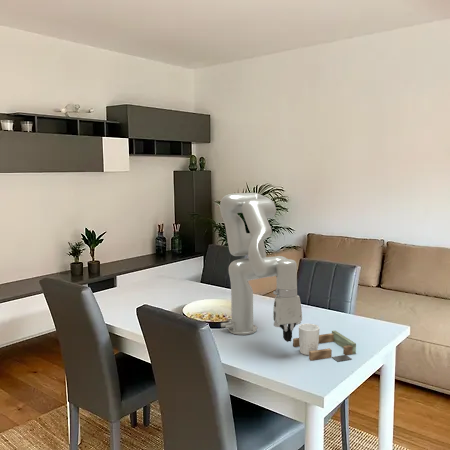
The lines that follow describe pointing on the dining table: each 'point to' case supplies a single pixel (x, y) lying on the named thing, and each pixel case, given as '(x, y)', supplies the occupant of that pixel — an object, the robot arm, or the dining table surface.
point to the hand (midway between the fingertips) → (287, 340)
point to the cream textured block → (308, 338)
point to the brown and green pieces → (336, 337)
